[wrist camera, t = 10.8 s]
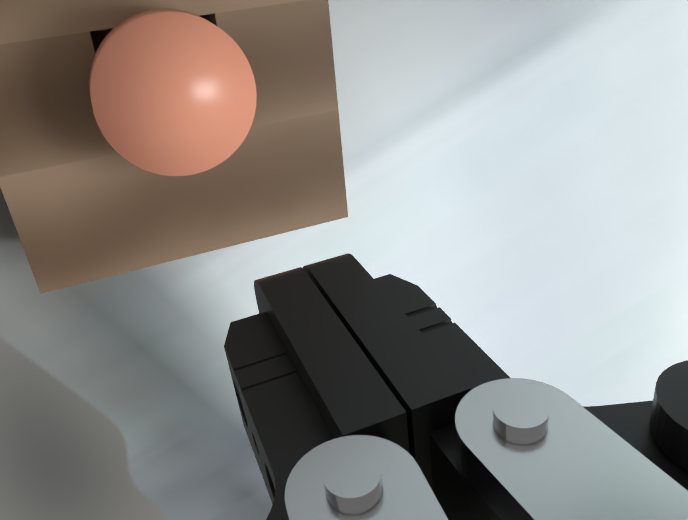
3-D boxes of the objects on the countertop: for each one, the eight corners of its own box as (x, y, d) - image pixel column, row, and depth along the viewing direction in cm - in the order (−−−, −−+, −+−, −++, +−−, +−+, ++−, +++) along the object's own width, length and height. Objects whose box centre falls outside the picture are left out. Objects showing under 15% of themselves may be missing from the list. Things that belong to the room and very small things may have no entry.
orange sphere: (67, 7, 22) (68, 25, 18) (210, -12, 24) (242, 1, 19) (106, 144, 25) (115, 190, 20) (233, 120, 26) (267, 158, 22)
